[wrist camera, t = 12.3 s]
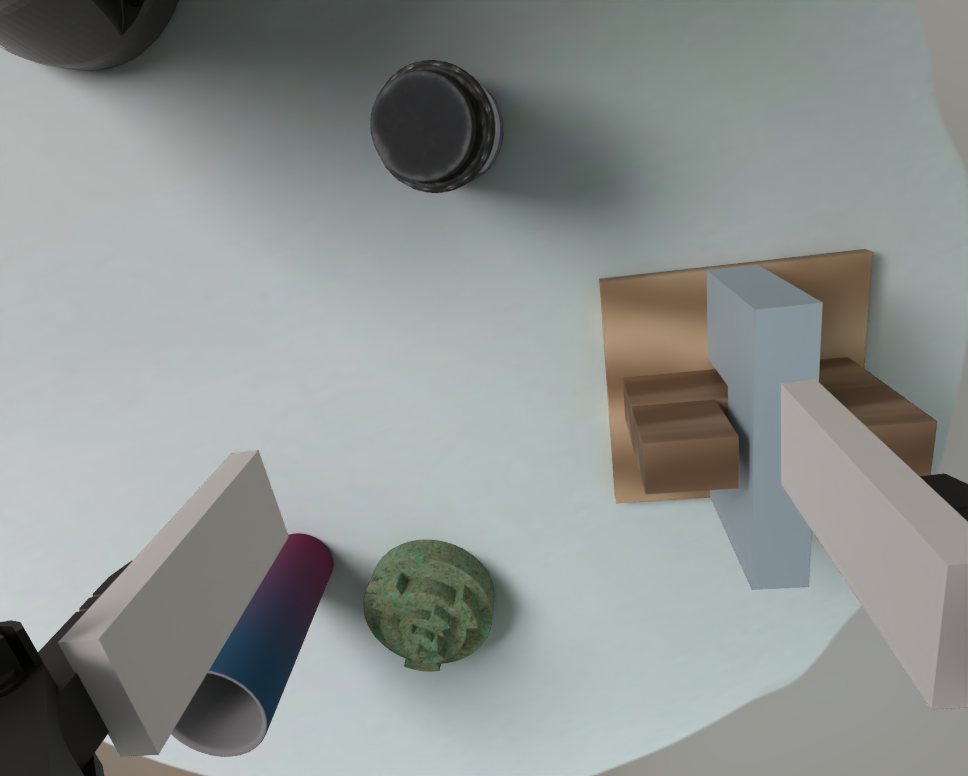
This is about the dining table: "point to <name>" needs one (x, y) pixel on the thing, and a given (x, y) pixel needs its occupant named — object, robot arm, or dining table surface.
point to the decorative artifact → (429, 603)
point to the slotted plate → (762, 413)
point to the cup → (258, 654)
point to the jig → (704, 394)
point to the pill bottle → (436, 126)
